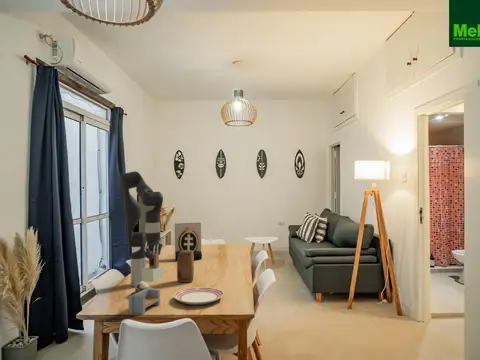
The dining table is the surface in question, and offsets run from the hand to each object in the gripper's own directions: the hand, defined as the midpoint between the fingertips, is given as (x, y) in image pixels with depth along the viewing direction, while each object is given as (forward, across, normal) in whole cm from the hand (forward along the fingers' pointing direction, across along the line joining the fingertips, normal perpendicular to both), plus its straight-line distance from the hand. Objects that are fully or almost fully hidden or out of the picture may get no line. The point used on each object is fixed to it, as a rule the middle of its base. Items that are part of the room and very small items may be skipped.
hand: (153, 265), depth 177 cm
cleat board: (+23, 0, -5) cm, 23 cm away
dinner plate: (+23, -22, +14) cm, 35 cm away
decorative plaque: (+24, -105, -41) cm, 115 cm away
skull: (+23, -17, -21) cm, 36 cm away
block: (+23, -49, -10) cm, 55 cm away
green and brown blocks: (+7, 0, -1) cm, 7 cm away
